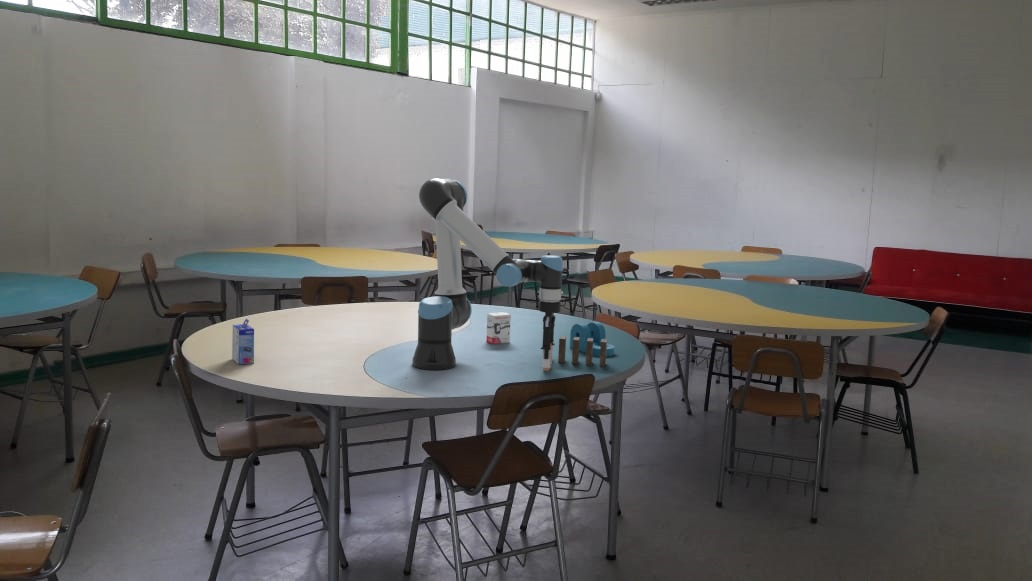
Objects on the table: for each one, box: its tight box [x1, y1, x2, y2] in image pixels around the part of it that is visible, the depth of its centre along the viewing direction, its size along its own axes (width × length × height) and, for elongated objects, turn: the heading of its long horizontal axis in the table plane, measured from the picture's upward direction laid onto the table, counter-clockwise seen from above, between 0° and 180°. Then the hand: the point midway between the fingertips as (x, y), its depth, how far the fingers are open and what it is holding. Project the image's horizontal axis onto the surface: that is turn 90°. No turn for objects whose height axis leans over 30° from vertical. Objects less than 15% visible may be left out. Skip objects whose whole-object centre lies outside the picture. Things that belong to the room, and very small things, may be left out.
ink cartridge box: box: [231, 318, 255, 365], centre depth 257 cm, size 10×6×14 cm, turn 33°
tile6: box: [599, 338, 608, 368], centre depth 273 cm, size 2×5×9 cm, turn 171°
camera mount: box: [569, 321, 615, 357], centre depth 294 cm, size 18×10×10 cm, turn 34°
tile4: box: [571, 337, 580, 365], centre depth 275 cm, size 2×5×9 cm, turn 171°
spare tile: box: [542, 343, 553, 372], centre depth 264 cm, size 2×5×9 cm, turn 171°
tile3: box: [557, 335, 567, 364], centre depth 276 cm, size 2×5×9 cm, turn 171°
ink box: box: [485, 311, 512, 345], centre depth 303 cm, size 8×5×12 cm, turn 123°
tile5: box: [585, 338, 593, 366], centre depth 274 cm, size 2×5×9 cm, turn 171°
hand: (547, 365), depth 264 cm, fingers closed on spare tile, 5 cm apart
